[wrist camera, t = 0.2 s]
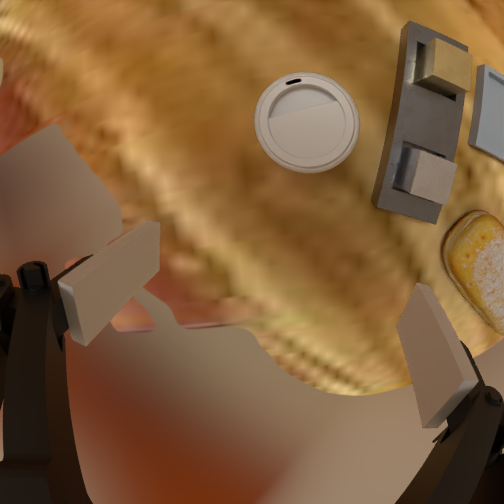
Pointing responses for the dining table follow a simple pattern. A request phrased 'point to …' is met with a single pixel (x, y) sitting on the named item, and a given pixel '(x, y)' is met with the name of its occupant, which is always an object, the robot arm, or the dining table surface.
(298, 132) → the coffee cup
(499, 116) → the parts tray
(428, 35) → the grey slotted holder
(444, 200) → the grey rectangular block
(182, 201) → the dining table surface
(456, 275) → the bread
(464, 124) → the dining table surface
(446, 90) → the tan rectangular block
